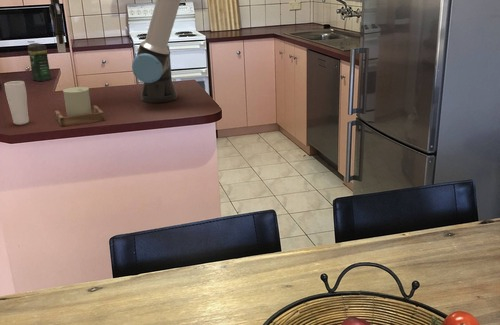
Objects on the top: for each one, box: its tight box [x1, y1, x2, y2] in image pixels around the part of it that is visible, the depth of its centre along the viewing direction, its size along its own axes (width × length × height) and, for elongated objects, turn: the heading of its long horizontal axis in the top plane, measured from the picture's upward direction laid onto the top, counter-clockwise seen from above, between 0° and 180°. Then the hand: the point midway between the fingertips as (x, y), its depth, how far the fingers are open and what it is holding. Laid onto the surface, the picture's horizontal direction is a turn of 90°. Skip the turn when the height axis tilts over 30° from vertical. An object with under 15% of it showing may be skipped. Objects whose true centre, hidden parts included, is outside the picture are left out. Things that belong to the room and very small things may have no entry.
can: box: [62, 86, 93, 117], centre depth 192 cm, size 9×9×12 cm
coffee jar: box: [27, 42, 52, 82], centre depth 264 cm, size 10×8×19 cm
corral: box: [54, 104, 106, 128], centre depth 194 cm, size 13×15×3 cm
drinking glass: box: [3, 80, 30, 126], centre depth 188 cm, size 7×7×15 cm
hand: (62, 52), depth 204 cm, fingers closed
